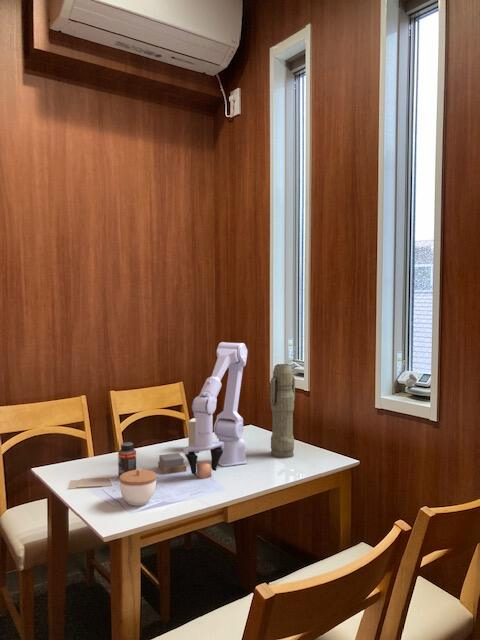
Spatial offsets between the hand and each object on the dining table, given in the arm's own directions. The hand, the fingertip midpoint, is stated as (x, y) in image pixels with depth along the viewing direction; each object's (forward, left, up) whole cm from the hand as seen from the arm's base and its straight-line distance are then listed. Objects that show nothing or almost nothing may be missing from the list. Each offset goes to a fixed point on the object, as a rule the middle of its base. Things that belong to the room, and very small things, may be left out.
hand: (204, 471), depth 168 cm
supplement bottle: (+24, -9, -2) cm, 26 cm away
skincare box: (-7, -30, -2) cm, 31 cm away
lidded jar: (+25, +13, -2) cm, 28 cm away
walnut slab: (+8, -11, -2) cm, 14 cm away
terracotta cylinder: (0, 0, -2) cm, 2 cm away
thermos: (-36, -11, -2) cm, 38 cm away
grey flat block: (+8, -11, 0) cm, 14 cm away
